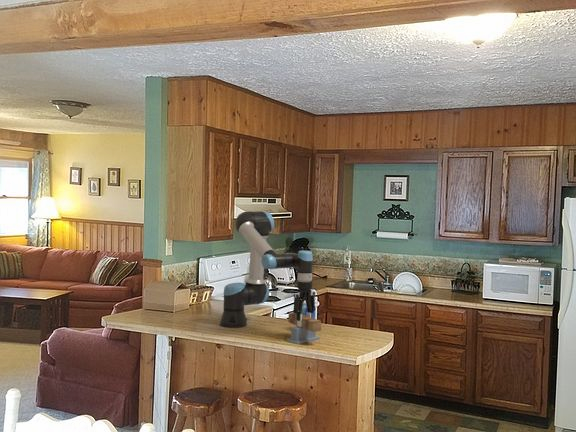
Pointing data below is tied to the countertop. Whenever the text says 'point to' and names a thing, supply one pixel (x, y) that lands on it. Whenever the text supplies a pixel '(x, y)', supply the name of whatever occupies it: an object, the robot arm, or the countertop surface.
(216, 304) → the countertop surface
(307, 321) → the walnut bar
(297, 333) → the fulcrum block
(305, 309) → the beer can
